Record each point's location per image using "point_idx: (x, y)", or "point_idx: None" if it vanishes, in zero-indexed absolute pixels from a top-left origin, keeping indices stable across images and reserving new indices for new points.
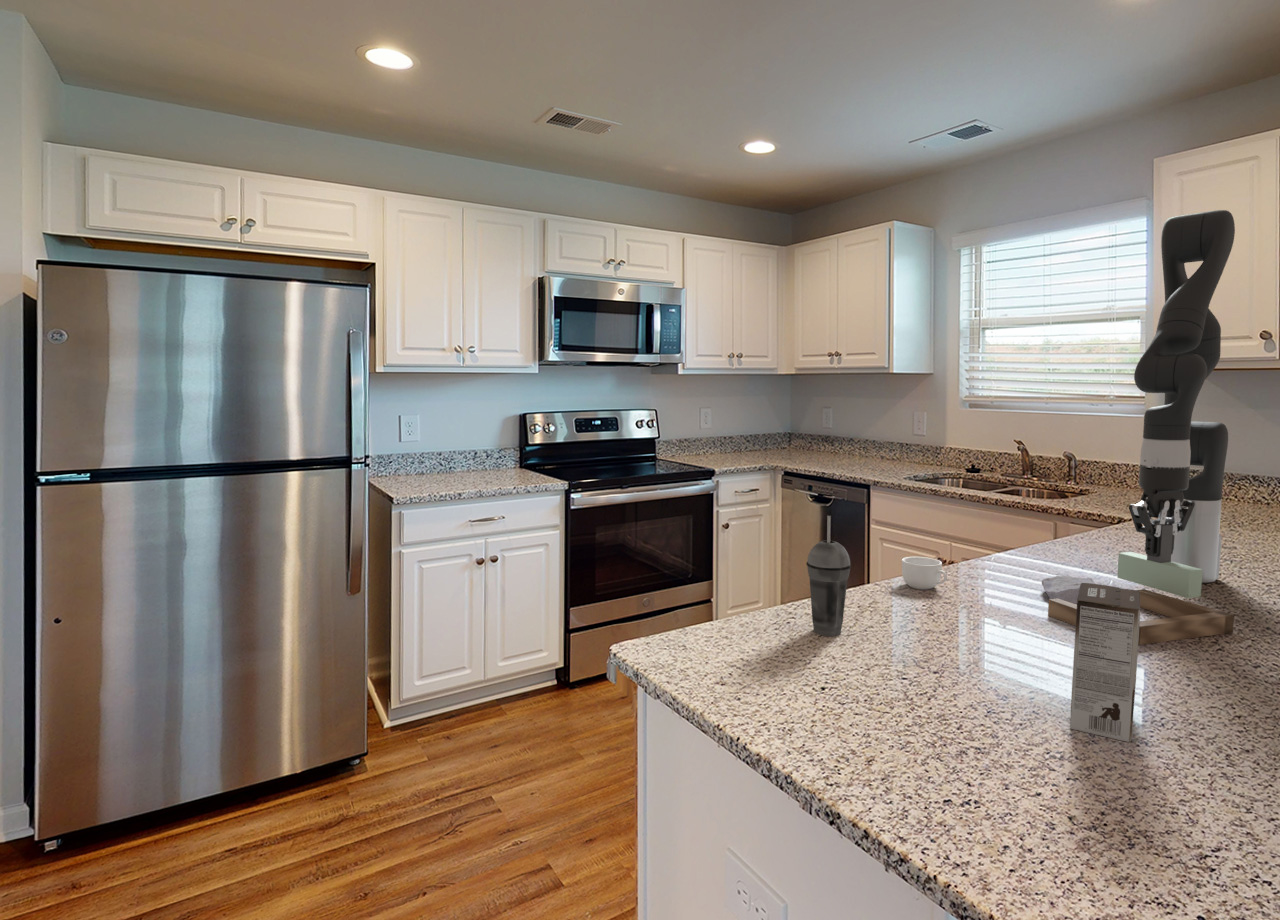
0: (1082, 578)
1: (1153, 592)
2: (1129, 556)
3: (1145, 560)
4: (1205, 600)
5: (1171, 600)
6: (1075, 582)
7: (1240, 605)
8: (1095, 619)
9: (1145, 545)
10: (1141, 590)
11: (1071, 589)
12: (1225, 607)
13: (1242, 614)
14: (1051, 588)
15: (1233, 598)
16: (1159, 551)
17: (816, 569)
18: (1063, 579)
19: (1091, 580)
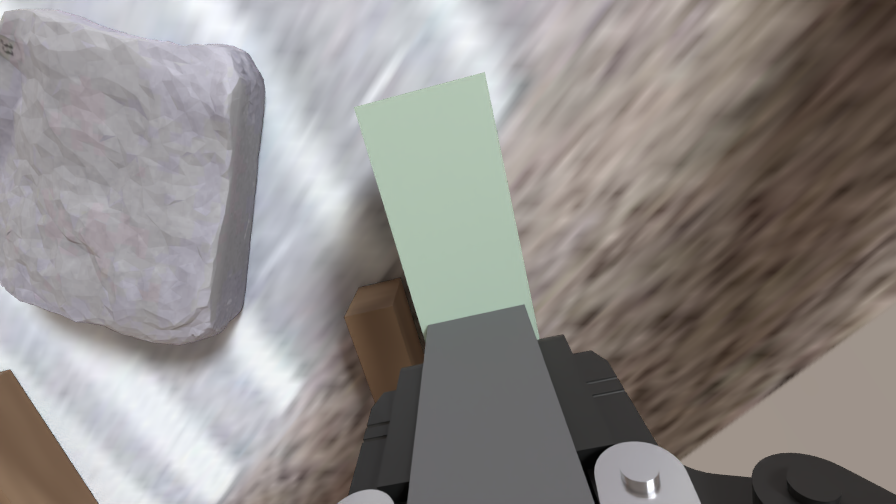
0: (177, 104)
1: (400, 353)
2: (384, 204)
3: (420, 319)
4: (711, 230)
5: None
6: (112, 171)
7: (780, 300)
8: None
9: (365, 435)
10: (367, 323)
11: (38, 304)
12: (696, 320)
13: (673, 393)
14: (6, 174)
15: (860, 208)
16: None
17: None
18: (64, 110)
19: (220, 134)
